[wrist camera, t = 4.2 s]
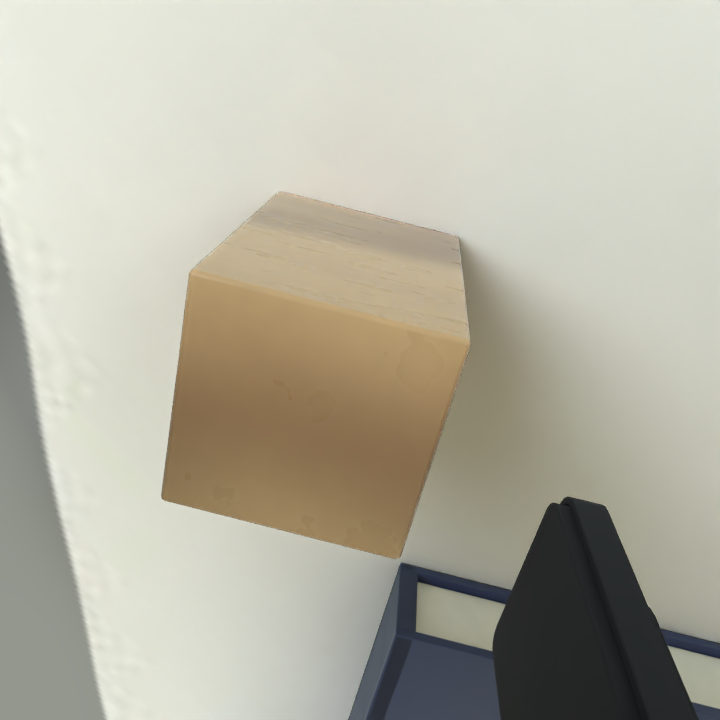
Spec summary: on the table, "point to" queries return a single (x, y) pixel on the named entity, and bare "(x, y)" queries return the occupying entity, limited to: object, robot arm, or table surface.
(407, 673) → the book
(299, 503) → the birch block
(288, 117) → the table surface
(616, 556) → the robot arm
